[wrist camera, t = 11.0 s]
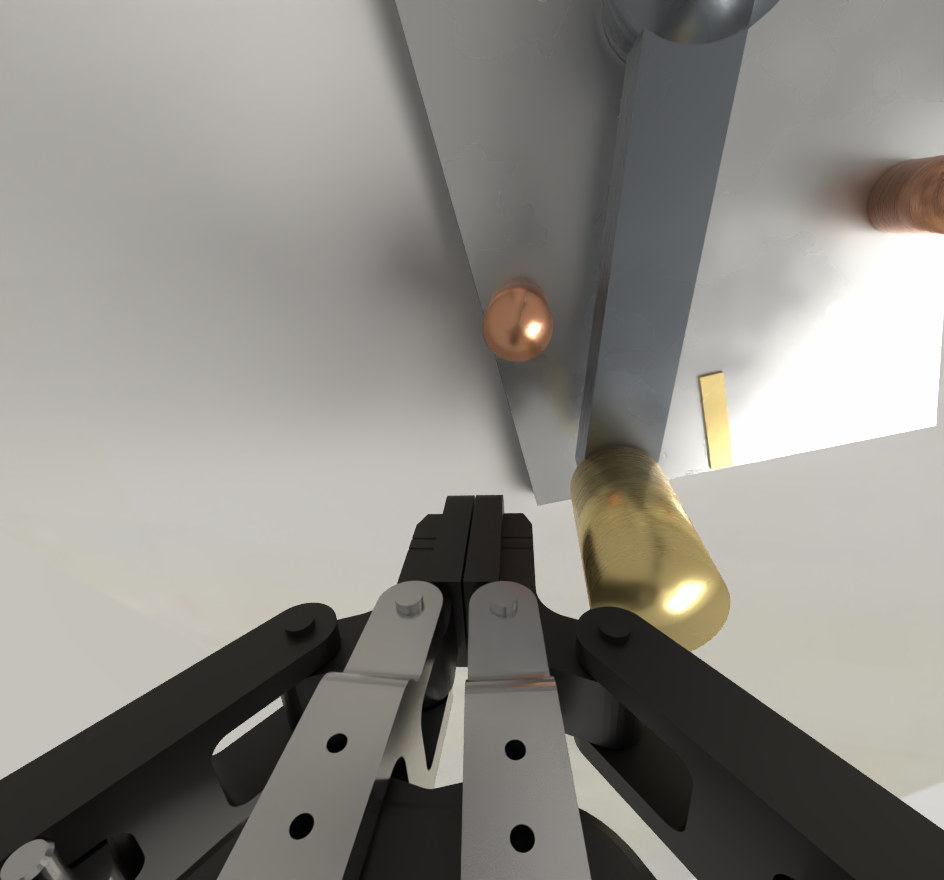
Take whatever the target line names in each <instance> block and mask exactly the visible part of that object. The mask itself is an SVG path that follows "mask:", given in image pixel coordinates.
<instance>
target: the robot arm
mask: <svg viewBox="0 0 944 880" xmlns="http://www.w3.org/2000/svg"><path fill="white" fill-rule="evenodd" d="M456 667H468V680H466V682H465V708H464V754H463V782H462V783H458V784H453V785H449V786H445V787H440V788H435V789H434V785H435V779H436V775H437V770H438V766H439V761H440V756H441V752H442V747H443V743H444V738H445V734H446V729H447V724H448V720H449V715H450V711H451V706H452V702H453V690H452V687H453V683H454V677H455V670H456ZM280 696H281V699H282V702H283V705H284V706H282V707H281V708H280V709H278V710H277V711H276V712H274V713H273V714H271V715H270V716H269V717H268V718H266V719H265V720H263V721H262V722H260V723H259V724H258V725H256V726H255V727H254V728H252V729H251V730H250V731H248V732H247V733H245V734H244V735H243V736H241V737H240V738H239V739H237V740H236V741H235V742H233V743H232V744H230V745H229V746H228V747H226V748H225V749H224V750H222V751H221V752H219V753H217V754H215V755H213V756H212V754H213V751H214V749H215V747H216V746H217V744H218V743H219V742H220V741H221V739H222V738H223V737H225V736H226V735H227V734H228V733H230V732H231V731H232V730H234V729H235V728H237V727H238V726H239V725H241V724H242V723H244V722H245V721H246V720H248V719H249V718H251V717H252V716H253V715H255V714H256V713H257V712H259V711H260V710H262V709H263V708H265V707H266V706H267V705H269V704H270V703H271V702H273V701H274V700H276V699H277V698H279V697H280ZM565 733H566V734H568V735H571V736H574V740H575V742H576V745H577V747H578V748H579V750H580V751H581V753H582V754H583V755H584V756H585V757H586V758H587V759H588V761H589V762H590V763H591V764H592V765H593V766H594V767H595V768H596V769H597V770H598V771H599V773H600V774H601V775H602V776H603V777H604V778H605V779H606V780H607V781H608V782H609V784H610V785H611V786H612V787H613V788H614V789H615V790H616V791H617V792H618V793H619V794H620V796H621V797H622V798H623V799H624V800H625V801H626V802H627V803H628V804H629V805H630V806H631V808H632V809H633V810H634V811H635V812H636V813H637V814H638V815H639V816H640V817H641V818H642V820H643V821H644V822H645V823H646V824H647V825H648V826H649V827H650V828H651V829H652V830H653V832H654V833H655V834H656V835H657V836H658V837H659V838H660V839H661V840H662V841H663V843H664V844H665V845H666V846H667V847H668V848H669V849H670V850H671V851H672V852H673V853H674V855H675V856H676V857H677V858H678V859H679V860H680V861H681V862H682V863H683V864H684V865H685V867H686V868H687V869H688V870H689V871H690V872H691V873H692V874H693V875H694V876H695V877H696V879H697V880H944V830H943V829H941V828H940V827H938V826H937V825H936V824H934V823H933V822H931V821H930V820H928V819H927V818H925V817H924V816H923V815H921V814H920V813H918V812H917V811H915V810H914V809H913V808H911V807H910V806H908V805H907V804H906V803H904V802H903V801H901V800H900V799H899V798H897V797H896V796H894V795H893V794H892V793H890V792H889V791H887V790H886V789H884V788H883V787H882V786H880V785H879V784H877V783H876V782H874V781H873V780H872V779H870V778H869V777H867V776H866V775H864V774H863V773H862V772H860V771H859V770H857V769H856V768H855V767H853V766H852V765H850V764H849V763H847V762H846V761H845V760H843V759H842V758H840V757H839V756H837V755H836V754H835V753H833V752H832V751H830V750H829V749H827V748H826V747H825V746H823V745H822V744H820V743H819V742H818V741H816V740H815V739H813V738H812V737H810V736H809V735H808V734H806V733H805V732H803V731H802V730H800V729H799V728H798V727H796V726H795V725H793V724H792V723H791V722H789V721H788V720H786V719H785V718H783V717H782V716H781V715H779V714H778V713H776V712H775V711H773V710H772V709H771V708H769V707H768V706H766V705H765V704H763V703H762V702H761V701H759V700H758V699H756V698H755V697H754V696H752V695H751V694H749V693H748V692H746V691H745V690H744V689H742V688H741V687H739V686H738V685H736V684H735V683H734V682H732V681H731V680H729V679H728V678H727V677H725V676H724V675H722V674H721V673H719V672H718V671H717V670H715V669H714V668H712V667H711V666H709V665H708V664H707V663H705V662H704V661H702V660H701V659H699V658H698V657H697V656H695V655H694V654H692V653H691V652H690V651H688V650H687V649H685V648H684V647H682V646H681V645H680V644H678V643H677V642H675V641H674V640H672V639H671V638H670V637H668V636H667V635H665V634H664V633H662V632H661V631H660V630H658V629H657V628H655V627H654V626H653V625H651V624H650V623H648V622H647V621H645V620H644V619H643V618H641V617H640V616H638V615H637V614H635V613H633V612H631V611H629V610H626V609H623V608H619V607H611V606H603V607H597V608H593V609H591V610H589V611H587V612H585V613H584V614H583V615H582V616H581V617H580V618H579V620H577V619H573V618H569V617H566V616H562V615H559V614H557V613H555V612H553V611H551V610H550V609H548V608H547V607H546V606H545V605H544V604H543V603H542V602H541V601H540V600H539V598H538V596H537V593H536V586H535V569H534V552H533V534H532V524H531V522H530V521H529V520H528V519H527V517H526V516H525V515H524V514H523V513H504V499H503V495H476V498H475V495H469V496H447V499H446V503H445V507H444V511H443V514H428V515H427V516H426V517H425V518H424V519H423V520H422V521H421V522H419V523H418V524H417V526H416V529H415V532H414V535H413V540H412V541H411V544H410V547H409V550H408V553H407V556H406V559H405V562H404V565H403V568H402V571H401V574H400V577H399V580H398V583H397V584H396V585H394V586H392V587H390V588H389V589H387V590H386V591H385V592H384V593H383V594H382V595H381V596H380V597H379V599H378V601H377V603H376V605H375V607H374V609H373V610H372V611H370V612H367V613H364V614H360V615H356V616H352V617H348V618H343V619H339V620H337V618H336V614H335V612H334V610H333V609H332V608H331V607H329V606H327V605H325V604H321V603H305V604H300V605H297V606H294V607H292V608H289V609H287V610H285V611H283V612H282V613H280V614H278V615H277V616H275V617H273V618H272V619H270V620H268V621H267V622H265V623H263V624H262V625H260V626H258V627H257V628H255V629H253V630H252V631H250V632H248V633H247V634H245V635H243V636H241V637H240V638H238V639H236V640H235V641H233V642H231V643H230V644H228V645H226V646H225V647H223V648H221V649H220V650H218V651H216V652H215V653H213V654H211V655H210V656H208V657H206V658H205V659H203V660H201V661H199V662H198V663H196V664H194V665H193V666H191V667H189V668H188V669H186V670H184V671H183V672H181V673H179V674H178V675H176V676H174V677H173V678H171V679H169V680H168V681H166V682H164V683H163V684H161V685H159V686H158V687H156V688H154V689H152V690H151V691H149V692H147V693H146V694H144V695H143V696H141V697H139V698H137V699H136V700H134V701H132V702H131V703H129V704H127V705H126V706H124V707H122V708H121V709H119V710H117V711H116V712H114V713H112V714H110V715H109V716H107V717H105V718H104V719H102V720H100V721H99V722H97V723H95V724H94V725H92V726H91V727H89V728H87V729H85V730H84V731H82V732H80V733H79V734H77V735H75V736H74V737H72V738H70V739H68V740H67V741H65V742H63V743H62V744H60V745H58V746H57V747H55V748H53V749H52V750H50V751H48V752H47V753H45V754H43V755H42V756H40V757H38V758H37V759H35V760H34V761H32V762H30V763H28V764H26V765H25V766H23V767H21V768H20V769H18V770H17V771H15V772H13V773H11V774H10V775H8V776H6V777H5V778H3V779H1V780H0V880H657V879H656V878H655V877H654V876H653V874H652V873H651V872H650V871H649V869H648V868H647V867H646V866H645V864H644V863H643V862H642V861H641V859H640V858H639V857H638V856H637V855H636V853H635V852H634V851H633V850H632V849H631V848H630V846H629V845H628V844H627V843H626V842H625V841H623V840H622V839H621V838H620V837H619V836H618V835H617V834H616V833H615V832H614V831H613V830H612V829H610V828H609V827H608V826H607V825H605V824H604V823H603V822H602V821H600V820H599V819H597V818H595V817H594V816H592V815H591V814H589V813H587V812H586V811H584V810H582V809H580V808H578V803H577V798H576V792H575V786H574V781H573V775H572V770H571V764H570V759H569V753H568V748H567V742H566V737H565Z"/></svg>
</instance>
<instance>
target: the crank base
mask: <svg viewBox="0 0 944 880" xmlns="http://www.w3.org/2000/svg"><path fill="white" fill-rule="evenodd" d="M395 2H396V6H397V10H398V13H399V17H400V20H401V24H402V27H403V31H404V34H405V38H406V41H407V45H408V49H409V52H410V56H411V59H412V63H413V66H414V70H415V73H416V77H417V80H418V84H419V88H420V91H421V95H422V98H423V102H424V105H425V109H426V112H427V116H428V119H429V123H430V127H431V130H432V134H433V137H434V141H435V144H436V148H437V151H438V155H439V158H440V162H441V166H442V169H443V173H444V176H445V180H446V183H447V187H448V190H449V194H450V197H451V201H452V205H453V208H454V212H455V215H456V219H457V222H458V226H459V229H460V233H461V236H462V240H463V244H464V247H465V251H466V254H467V258H468V261H469V265H470V268H471V272H472V275H473V279H474V282H475V286H476V290H477V293H478V297H479V300H480V304H481V307H482V311H483V314H484V319H483V335H484V339H485V341H486V343H487V345H488V347H489V348H490V349H491V350H492V352H493V353H495V357H496V360H497V364H498V368H499V371H500V375H501V378H502V382H503V385H504V389H505V392H506V396H507V399H508V403H509V407H510V410H511V414H512V417H513V421H514V424H515V428H516V431H517V435H518V438H519V442H520V446H521V449H522V453H523V456H524V460H525V463H526V467H527V470H528V474H529V477H530V481H531V485H532V488H533V492H534V495H535V499H536V502H537V506H538V505H543V504H548V503H553V502H558V501H563V500H568V499H571V494H570V483H571V478H572V476H573V473H574V471H575V469H576V468H577V464H576V460H575V453H576V445H577V438H578V430H579V422H580V414H581V407H582V399H583V391H584V383H585V376H586V368H587V360H588V353H589V345H590V337H591V329H592V322H593V314H594V306H595V299H596V291H597V283H598V275H599V268H600V260H601V252H602V244H603V237H604V229H605V221H606V214H607V206H608V198H609V190H610V183H611V175H612V167H613V159H614V152H615V144H616V136H617V129H618V121H619V113H620V105H621V98H622V90H623V82H624V75H625V67H626V59H627V54H626V53H625V52H623V51H622V50H621V49H620V47H619V46H618V45H617V44H616V42H615V41H614V40H613V38H612V37H611V35H610V33H609V32H608V30H607V27H606V25H605V23H604V20H603V18H602V14H601V11H600V7H599V2H598V0H395ZM943 306H944V0H780V1H779V2H778V3H777V4H776V5H775V6H774V7H773V8H772V9H771V10H770V11H769V12H768V13H767V14H765V15H764V16H763V17H762V18H761V19H760V20H758V21H757V22H756V23H755V24H754V25H753V26H751V27H750V28H749V29H748V34H747V39H746V43H745V48H744V53H743V58H742V63H741V67H740V72H739V77H738V82H737V87H736V91H735V96H734V101H733V106H732V111H731V116H730V120H729V125H728V130H727V135H726V140H725V144H724V149H723V154H722V159H721V164H720V168H719V173H718V178H717V183H716V188H715V193H714V197H713V202H712V207H711V212H710V217H709V221H708V226H707V231H706V236H705V241H704V246H703V250H702V255H701V260H700V265H699V270H698V274H697V279H696V284H695V289H694V294H693V298H692V303H691V308H690V313H689V318H688V323H687V327H686V332H685V337H684V342H683V347H682V351H681V356H680V361H679V366H678V371H677V376H676V380H675V385H674V390H673V395H672V400H671V404H670V409H669V414H668V419H667V424H666V428H665V433H664V438H663V443H662V448H661V453H660V457H659V462H658V464H659V466H660V467H661V469H662V471H663V473H664V475H665V476H666V478H667V479H672V478H677V477H682V476H687V475H692V474H697V473H702V472H707V471H712V470H717V469H722V468H727V467H732V466H737V465H742V464H747V463H752V462H757V461H762V460H767V459H772V458H777V457H782V456H787V455H792V454H796V453H801V452H806V451H811V450H816V449H821V448H826V447H831V446H836V445H841V444H846V443H851V442H856V441H861V440H866V439H871V438H876V437H881V436H886V435H891V434H896V433H901V432H906V431H911V430H916V429H921V428H926V427H930V426H935V425H936V414H937V399H938V383H939V368H940V353H941V337H942V322H943Z"/></svg>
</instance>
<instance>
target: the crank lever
mask: <svg viewBox="0 0 944 880" xmlns="http://www.w3.org/2000/svg"><path fill="white" fill-rule="evenodd" d="M779 1H780V0H598V2H599V7H600V11H601V14H602V18H603V20H604V23H605V25H606V27H607V30H608V32H609V33H610V35H611V37H612V38H613V40H614V41H615V42H616V44H617V45H618V46H619V47H620V49H621V50H622V51H623V52H625V53H626V54H627V59H626V67H625V75H624V82H623V90H622V98H621V105H620V113H619V121H618V129H617V136H616V144H615V152H614V159H613V167H612V175H611V183H610V190H609V198H608V206H607V214H606V221H605V229H604V237H603V244H602V252H601V260H600V268H599V275H598V283H597V291H596V299H595V306H594V314H593V322H592V329H591V337H590V345H589V353H588V360H587V368H586V376H585V383H584V391H583V399H582V407H581V414H580V422H579V430H578V438H577V445H576V453H575V460H576V464H577V468H576V469H575V471H574V473H573V476H572V478H571V483H570V494H571V500H572V506H573V511H574V517H575V523H576V529H577V535H578V541H579V546H580V552H581V558H582V564H583V570H584V576H585V581H586V587H587V593H588V599H589V605H590V610H591V609H593V608H597V607H603V606H611V607H619V608H623V609H626V610H629V611H631V612H633V613H635V614H637V615H638V616H640V617H641V618H643V619H644V620H645V621H647V622H648V623H650V624H651V625H653V626H654V627H655V628H657V629H658V630H660V631H661V632H662V633H664V634H665V635H667V636H668V637H670V638H671V639H672V640H674V641H675V642H677V643H678V644H680V645H681V646H682V647H684V648H685V649H687V650H688V651H692V650H695V649H697V648H699V647H700V646H702V645H704V644H705V643H707V642H708V641H709V640H711V639H712V638H713V637H714V636H715V635H716V634H717V633H718V632H719V631H720V629H721V628H722V627H723V625H724V623H725V622H726V619H727V617H728V614H729V609H730V596H729V592H728V589H727V586H726V584H725V582H724V581H723V579H722V577H721V575H720V573H719V572H718V570H717V568H716V566H715V564H714V563H713V561H712V559H711V557H710V555H709V554H708V552H707V550H706V548H705V546H704V545H703V543H702V541H701V539H700V537H699V536H698V534H697V532H696V530H695V528H694V527H693V525H692V523H691V521H690V520H689V518H688V516H687V514H686V512H685V511H684V509H683V507H682V505H681V503H680V502H679V500H678V498H677V496H676V494H675V493H674V491H673V489H672V487H671V485H670V484H669V482H668V480H667V478H666V476H665V475H664V473H663V471H662V469H661V467H660V466H659V464H658V462H659V457H660V453H661V448H662V443H663V438H664V433H665V428H666V424H667V419H668V414H669V409H670V404H671V400H672V395H673V390H674V385H675V380H676V376H677V371H678V366H679V361H680V356H681V351H682V347H683V342H684V337H685V332H686V327H687V323H688V318H689V313H690V308H691V303H692V298H693V294H694V289H695V284H696V279H697V274H698V270H699V265H700V260H701V255H702V250H703V246H704V241H705V236H706V231H707V226H708V221H709V217H710V212H711V207H712V202H713V197H714V193H715V188H716V183H717V178H718V173H719V168H720V164H721V159H722V154H723V149H724V144H725V140H726V135H727V130H728V125H729V120H730V116H731V111H732V106H733V101H734V96H735V91H736V87H737V82H738V77H739V72H740V67H741V63H742V58H743V53H744V48H745V43H746V39H747V34H748V29H749V28H750V27H751V26H753V25H754V24H755V23H756V22H757V21H758V20H760V19H761V18H762V17H763V16H764V15H765V14H767V13H768V12H769V11H770V10H771V9H772V8H773V7H774V6H775V5H776V4H777V3H778V2H779Z"/></svg>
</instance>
